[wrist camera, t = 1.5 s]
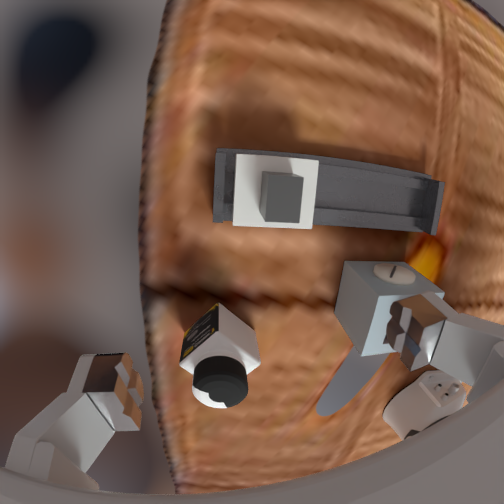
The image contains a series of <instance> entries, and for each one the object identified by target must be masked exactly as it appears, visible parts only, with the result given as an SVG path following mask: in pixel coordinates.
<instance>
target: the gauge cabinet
mask: <svg viewBox="0 0 504 504" xmlns="http://www.w3.org/2000/svg"><path fill="white" fill-rule="evenodd" d="M427 290H429V291H433V292H434V293H435V294H436V295H438V296H439V297H440V298H441V299H442V300H443V297H444V294H445V292H444V291H442V290H441V289H440V288H439V287H437V286H436V285H435V284H433V283H432V282H431V281H429V280H428V279H427V278H425V277H424V276H423V275H421V274H420V273H419V272H417V271H416V270H415V269H413V268H412V267H411V266H409V265H408V264H407V263H405V262H380V261H344V267H343V272H342V277H341V282H340V287H339V292H338V297H337V302H336V307H335V311H334V314H335V315H336V317H337V319H338V320H339V322H340V323H341V325H342V327H343V328H344V330H345V331H346V333H347V335H348V336H349V338H350V339H351V341H352V343H353V344H354V346H355V348H356V349H357V351H358V352H359V354H360V356H368V355H376V354H383V353H391V352H397V351H395V350H393V349H392V348H391V346H390V345H389V343H388V340H387V335H386V328H387V323H388V322H389V321H390V319H391V317H392V316H391V314H390V313H389V312H390V307H391V305H392V303H393V302H394V301H398V300H401V299H404V298H407V297H410V296H414V295H417V294H419V293H422V292H425V291H427Z"/></svg>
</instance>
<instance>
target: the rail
mask: <svg viewBox="0 0 504 504" xmlns="http://www.w3.org/2000/svg"><path fill="white" fill-rule="evenodd" d="M236 154H253V155H267V156H280V157H291V158H301V159H311V160H317V161H319V165H318V176H317V186H316V196H315V205H314V214H313V223H312V224H314V225H331V226H346V227H361V228H375V229H388V230H401V231H413V232H423V231H424V232H426V233H428V234H430V235H436V232H437V227H438V222H439V216H440V211H441V205H442V199H443V192H444V185H445V182H441V181H437V180H433V179H431V175H427V174H422V173H418V172H413V171H408V170H403V169H398V168H393V167H388V166H382V165H377V164H371V163H365V162H359V161H352V160H346V159H338V158H331V157H323V156H315V155H306V154H297V153H286V152H275V151H262V150H247V149H227V148H217V153H216V158H215V179H214V203H213V222H217V223H223V220H224V221H232V210H233V190H234V172H235V155H236Z"/></svg>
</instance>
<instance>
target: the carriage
mask: <svg viewBox="0 0 504 504" xmlns="http://www.w3.org/2000/svg"><path fill="white" fill-rule="evenodd" d="M318 165H319V161H317V160H311V159H301V158H291V157H280V156H267V155H253V154H236V155H235V172H234V190H233V210H232V222H233V226H253V227H277V228H299V229H312V223H313V214H314V205H315V196H316V186H317V176H318Z"/></svg>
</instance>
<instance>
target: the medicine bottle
mask: <svg viewBox="0 0 504 504" xmlns="http://www.w3.org/2000/svg"><path fill="white" fill-rule="evenodd" d="M179 364H180V366H181V367H182V368H184V369H185V370H187V371H188V372H190V373H191V374H193V385H192V391H193V394H194V396H195V397H196V398H197V399H198V400H199V401H200V402H201V403H203V404H205V405H207V406H210V407H214V408H228V407H232V406H235V405H237V404H238V403H240V402H241V401H242V400H243V399H244V398H245V397H246V396H247V394H248V382H247V374H248V373H250V372H251V371H252V370H254V369H255V368H256V367H258V366H259V365H260V364H261V360H260V355H259V349H258V344H257V338H256V333H255V331H254V330H253V329H252V328H250V327H249V326H248V325H247V324H245V323H244V322H243V321H242V320H240V319H239V318H238V317H237V316H235V315H234V314H233V313H232V312H230V311H229V310H228V309H227V308H225V307H224V306H223V305H222V304H220V303H216V304H215V305H214V306H213V307H212V308H211V309H210V310H209V311H208V312H206V313H205V314H204V315H203V316H202V317H201V318H200V319H199V320H198V321H197V322H196V323H194V324H193V325H192V326H191V327H190V328H189V329H188V330H187V331H186V332H185V333H184V339H183V344H182V350H181V357H180V363H179Z"/></svg>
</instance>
